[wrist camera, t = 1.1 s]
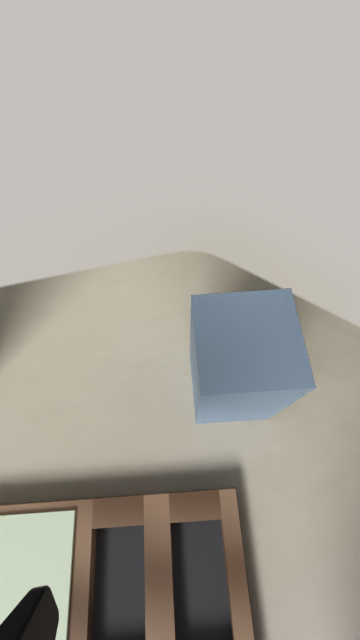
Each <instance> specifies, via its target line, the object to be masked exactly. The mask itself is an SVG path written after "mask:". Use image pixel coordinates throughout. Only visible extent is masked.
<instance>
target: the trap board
mask: <svg viewBox="0 0 360 640" xmlns="http://www.w3.org/2000/svg"><path fill="white" fill-rule="evenodd" d="M45 585H48V586H49V587H50V588H51V591H52V594H53V596H54V599H55V602H56V604H57V607H58V610H59V623H58V628H57V634H56V639H55V640H254V633H253V625H252V617H251V609H250V601H249V593H248V584H247V576H246V568H245V560H244V552H243V544H242V536H241V528H240V520H239V512H238V504H237V496H236V489H235V488H223V489H210V490H196V491H182V492H168V493H155V494H141V495H127V496H114V497H100V498H86V499H73V500H59V501H45V502H31V503H18V504H4V505H0V625H1V623H2V622H3V621H4V620H5V619H6V617H7V616H8V615H9V614H10V613H11V612H12V610H13V609H14V608H15V607H16V606H17V604H18V603H19V602H20V601H21V600H22V598H23V597H24V596H25V595H26V594H27V593H28V591H29V590H31V589H32V588H34V587H39V586H45Z"/></svg>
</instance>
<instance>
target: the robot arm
mask: <svg viewBox="0 0 360 640" xmlns="http://www.w3.org/2000/svg"><path fill="white" fill-rule="evenodd" d="M58 623H59V610H58V607H57V604H56V602H55V599H54V596H53V594H52V591H51V588H50V587H49V586H48V585H45V586H39V587H34V588H32V589H31V590H29V591H28V593H27V594H26V595H25V596H24V597H23V598H22V600H21V601H20V602H19V603H18V604H17V606H16V607H15V608H14V609H13V610H12V612H11V613H10V614H9V615H8V616H7V617H6V619H5V620H4V621H3V622H2V623H1V625H0V640H55V639H56V634H57V628H58Z"/></svg>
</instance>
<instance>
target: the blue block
mask: <svg viewBox="0 0 360 640" xmlns="http://www.w3.org/2000/svg"><path fill="white" fill-rule="evenodd" d="M190 360H191V372H192V384H193V396H194V408H195V420H196V424H205V423H219V422H233V421H247V420H261V419H269V418H271V417H272V416H274V415H275V414H277V413H278V412H280V411H281V410H283V409H284V408H286V407H287V406H289V405H290V404H292V403H293V402H295V401H296V400H298V399H299V398H301V397H303V396H304V395H306V394H307V393H309V392H310V391H312V390H313V389H315V388H316V386H315V382H314V378H313V374H312V370H311V366H310V362H309V358H308V354H307V350H306V346H305V342H304V338H303V334H302V330H301V326H300V322H299V318H298V314H297V310H296V306H295V302H294V298H293V294H292V291H291V289H274V290H260V291H245V292H230V293H216V294H201V295H191V333H190Z"/></svg>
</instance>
